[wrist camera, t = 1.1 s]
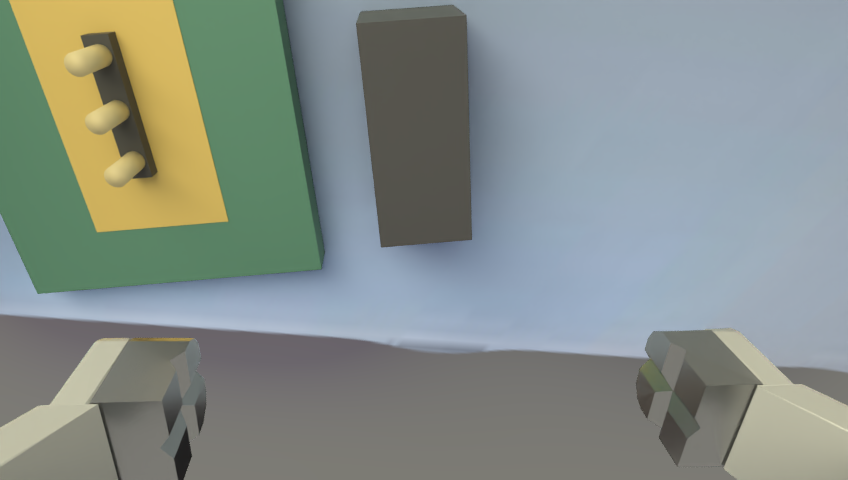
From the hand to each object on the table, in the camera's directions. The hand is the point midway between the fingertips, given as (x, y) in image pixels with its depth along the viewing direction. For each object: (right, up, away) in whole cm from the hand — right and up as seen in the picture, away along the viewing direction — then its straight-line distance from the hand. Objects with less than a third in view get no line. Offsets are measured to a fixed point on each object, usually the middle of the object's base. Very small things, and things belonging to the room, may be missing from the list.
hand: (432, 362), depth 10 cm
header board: (-15, +10, +18) cm, 26 cm away
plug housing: (-1, +9, +20) cm, 22 cm away
